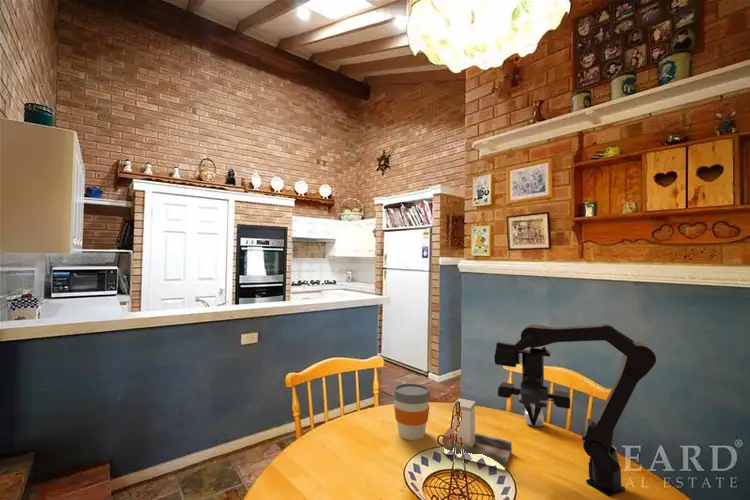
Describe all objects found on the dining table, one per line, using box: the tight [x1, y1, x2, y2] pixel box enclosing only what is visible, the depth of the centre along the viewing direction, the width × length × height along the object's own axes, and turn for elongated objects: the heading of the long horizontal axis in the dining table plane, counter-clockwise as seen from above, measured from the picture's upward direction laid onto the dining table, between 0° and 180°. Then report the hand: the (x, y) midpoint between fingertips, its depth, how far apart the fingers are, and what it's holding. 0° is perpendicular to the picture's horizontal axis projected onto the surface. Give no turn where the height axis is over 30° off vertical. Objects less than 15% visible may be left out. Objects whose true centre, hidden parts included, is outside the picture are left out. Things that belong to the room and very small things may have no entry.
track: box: [442, 422, 513, 468], centre depth 110 cm, size 18×11×6 cm, turn 60°
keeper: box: [452, 397, 477, 447], centre depth 112 cm, size 5×6×13 cm
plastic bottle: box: [523, 404, 545, 427], centre depth 130 cm, size 6×7×20 cm
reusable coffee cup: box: [393, 383, 431, 441], centre depth 123 cm, size 13×13×15 cm
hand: (533, 425), depth 102 cm, fingers closed
